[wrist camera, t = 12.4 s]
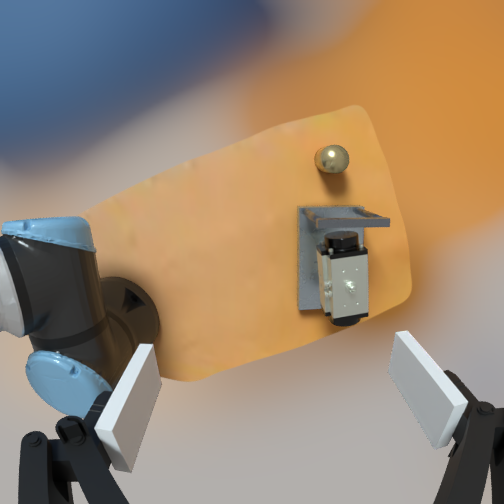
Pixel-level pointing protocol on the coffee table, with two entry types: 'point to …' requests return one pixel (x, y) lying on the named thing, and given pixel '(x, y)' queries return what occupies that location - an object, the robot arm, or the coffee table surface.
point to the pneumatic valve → (343, 277)
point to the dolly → (312, 233)
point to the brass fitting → (332, 159)
